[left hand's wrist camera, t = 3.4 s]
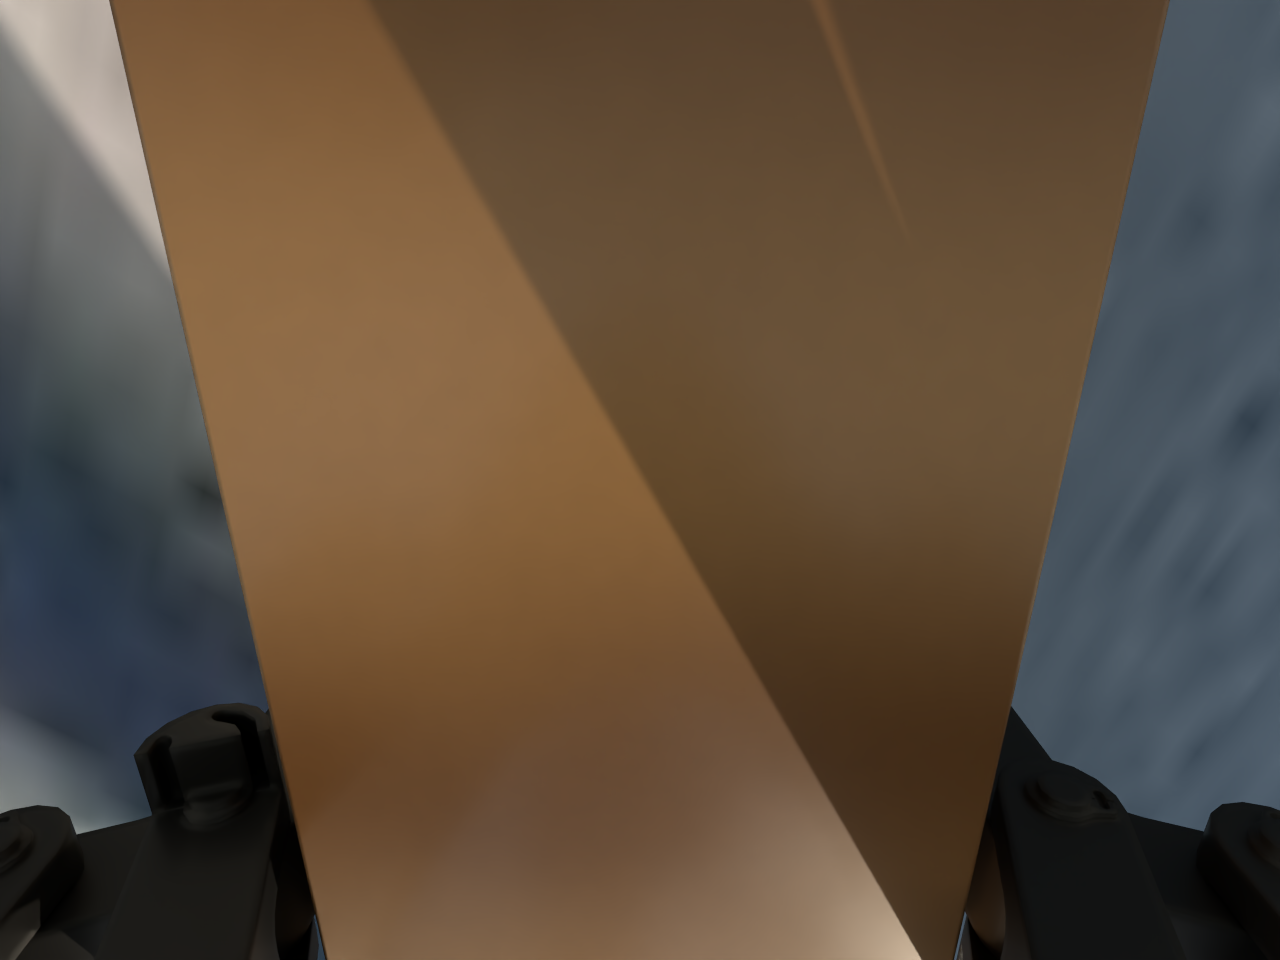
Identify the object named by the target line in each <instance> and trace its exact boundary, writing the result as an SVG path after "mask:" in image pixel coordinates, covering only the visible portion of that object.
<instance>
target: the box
mask: <svg viewBox="0 0 1280 960" xmlns="http://www.w3.org/2000/svg"><path fill="white" fill-rule="evenodd" d="M109 1H110V6H111V10H112V15H113V19H114V24H115V28H116V32H117V37H118V41H119V46H120V50H121V55H122V59H123V63H124V68H125V72H126V77H127V81H128V86H129V90H130V95H131V99H132V103H133V108H134V112H135V117H136V121H137V126H138V130H139V134H140V139H141V143H142V148H143V152H144V157H145V161H146V165H147V170H148V174H149V179H150V183H151V188H152V192H153V197H154V201H155V205H156V210H157V214H158V219H159V223H160V228H161V232H162V236H163V241H164V245H165V250H166V254H167V259H168V263H169V267H170V272H171V276H172V281H173V285H174V290H175V294H176V299H177V303H178V307H179V312H180V316H181V321H182V325H183V330H184V334H185V338H186V343H187V347H188V352H189V356H190V361H191V365H192V369H193V374H194V378H195V383H196V387H197V392H198V396H199V401H200V405H201V409H202V414H203V418H204V423H205V427H206V432H207V436H208V440H209V445H210V449H211V454H212V458H213V463H214V467H215V471H216V476H217V480H218V485H219V489H220V494H221V498H222V502H223V507H224V511H225V516H226V520H227V525H228V529H229V534H230V538H231V542H232V547H233V551H234V556H235V560H236V565H237V569H238V573H239V578H240V582H241V587H242V591H243V596H244V600H245V604H246V609H247V613H248V618H249V622H250V627H251V631H252V636H253V640H254V644H255V649H256V653H257V658H258V662H259V667H260V671H261V675H262V680H263V684H264V689H265V693H266V698H267V702H268V706H269V711H270V715H271V720H272V724H273V729H274V733H275V738H276V742H277V746H278V751H279V755H280V760H281V764H282V769H283V773H284V777H285V782H286V786H287V791H288V795H289V800H290V804H291V808H292V813H293V817H294V822H295V826H296V831H297V835H298V840H299V844H300V848H301V853H302V857H303V862H304V866H305V871H306V875H307V879H308V884H309V888H310V893H311V897H312V902H313V906H314V910H315V915H316V919H317V924H318V928H319V933H320V937H321V941H322V946H323V950H324V955H325V959H326V960H954V956H955V952H956V948H957V943H958V939H959V934H960V930H961V925H962V921H963V916H964V912H965V908H966V903H967V899H968V894H969V890H970V885H971V881H972V876H973V872H974V868H975V863H976V859H977V854H978V850H979V845H980V841H981V836H982V832H983V828H984V823H985V819H986V814H987V810H988V805H989V801H990V797H991V792H992V788H993V783H994V779H995V774H996V770H997V765H998V761H999V757H1000V752H1001V748H1002V743H1003V739H1004V734H1005V730H1006V725H1007V721H1008V717H1009V712H1010V708H1011V703H1012V699H1013V694H1014V690H1015V685H1016V681H1017V677H1018V672H1019V668H1020V663H1021V659H1022V654H1023V650H1024V645H1025V641H1026V637H1027V632H1028V628H1029V623H1030V619H1031V614H1032V610H1033V605H1034V601H1035V597H1036V592H1037V588H1038V583H1039V579H1040V574H1041V570H1042V566H1043V561H1044V557H1045V552H1046V548H1047V543H1048V539H1049V534H1050V530H1051V526H1052V521H1053V517H1054V512H1055V508H1056V503H1057V499H1058V494H1059V490H1060V486H1061V481H1062V477H1063V472H1064V468H1065V463H1066V459H1067V454H1068V450H1069V446H1070V441H1071V437H1072V432H1073V428H1074V423H1075V419H1076V414H1077V410H1078V406H1079V401H1080V397H1081V392H1082V388H1083V383H1084V379H1085V374H1086V370H1087V366H1088V361H1089V357H1090V352H1091V348H1092V343H1093V339H1094V335H1095V330H1096V326H1097V321H1098V317H1099V312H1100V308H1101V303H1102V299H1103V295H1104V290H1105V286H1106V281H1107V277H1108V272H1109V268H1110V263H1111V259H1112V255H1113V250H1114V246H1115V241H1116V237H1117V232H1118V228H1119V223H1120V219H1121V215H1122V210H1123V206H1124V201H1125V197H1126V192H1127V188H1128V183H1129V179H1130V175H1131V170H1132V166H1133V161H1134V157H1135V152H1136V148H1137V143H1138V139H1139V135H1140V130H1141V126H1142V121H1143V117H1144V112H1145V108H1146V104H1147V99H1148V95H1149V90H1150V86H1151V81H1152V77H1153V72H1154V68H1155V64H1156V59H1157V55H1158V50H1159V46H1160V41H1161V37H1162V32H1163V28H1164V24H1165V19H1166V15H1167V10H1168V6H1169V1H1170V0H109Z"/></svg>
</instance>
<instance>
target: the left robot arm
mask: <svg viewBox="0 0 1280 960" xmlns="http://www.w3.org/2000/svg"><path fill="white" fill-rule="evenodd" d="M134 758H135V761H136V764H137V767H138V770H139V773H140V777H141V780H142V783H143V786H144V789H145V792H146V796H147V799H148V802H149V805H150V808H151V811H152V816H149V817H146V818H143V819H140V820H136V821H132V822H128V823H123V824H119V825H115V826H111V827H107V828H102V829H98V830H94V831H90V832H85V833H81V834H77V835H76V832H75V830H74V827H73V824H72V821H71V819H70V816H69V815H67V814H66V813H65V812H63V811H62V810H61V809H60V808H58V807H50V806H41V805H36V806H31V807H25V808H19V809H14V810H10V811H7V812H4V813H2V814H0V960H317V957H318V947H319V944H318V937H317V930H316V925H315V920H314V915H315V910H314V906H313V902H312V897H311V893H310V888H309V884H308V879H307V875H306V871H305V866H304V862H303V857H302V853H301V848H300V844H299V840H298V835H297V831H296V826H295V822H294V817H293V813H292V808H291V804H290V800H289V795H288V791H287V786H286V782H285V777H284V773H283V769H282V764H281V760H280V755H279V751H278V746H277V742H276V738H275V733H274V729H273V724H272V720H271V715H270V711H269V709H268V710H267V712H266V713H264V712H263V711H262V710H261V709H259V708H258V707H256V706H251V705H247V704H242V703H232V704H219V705H214V706H210V707H206V708H203V709H199V710H196V711H192V712H190V713H188V714H185V715H183V716H181V717H179V718H177V719H175V720H173V721H171V722H169V723H167V724H165V725H164V726H163V727H161V728H160V729H159V730H157V731H156V732H155V733H153V734H152V735H150V736H149V737H148V738H146V740H145V741H144V742H143V744H142V745H141V746H140V748H139V749H138V750H137V751H136V753H135V754H134ZM965 912H966V914H967V916H966V920H965V925H964V929H963V934H962V938H961V942H960V947H959V951H958V956H957V960H1280V810H1277V809H1274V808H1271V807H1268V806H1262V805H1256V804H1251V803H1245V802H1239V803H1229V804H1222V805H1221V806H1219V807H1218V808H1217V809H1216V810H1214V811H1213V812H1212V813H1211V814H1210V817H1209V820H1208V822H1207V825H1206V828H1205V830H1204V832H1203V831H1199V830H1195V829H1191V828H1186V827H1182V826H1178V825H1174V824H1169V823H1165V822H1161V821H1157V820H1152V819H1148V818H1144V817H1140V816H1137V815H1134V814H1130V813H1127V811H1126V810H1125V808H1124V807H1123V805H1122V804H1121V802H1120V801H1119V799H1118V798H1117V796H1116V795H1115V794H1113V793H1112V792H1111V791H1110V790H1109V789H1108V788H1106V787H1105V786H1104V785H1103V784H1102V783H1100V782H1099V781H1098V780H1097V779H1095V778H1093V777H1091V776H1089V775H1088V774H1086V773H1084V772H1082V771H1080V770H1078V769H1076V768H1075V767H1072V766H1069V765H1066V764H1062V763H1059V762H1056V761H1053V760H1051V758H1050V757H1049V756H1048V754H1047V753H1046V752H1045V750H1044V749H1043V748H1042V746H1041V745H1040V744H1039V742H1038V741H1037V740H1036V738H1035V737H1034V736H1033V734H1032V733H1031V732H1030V730H1029V729H1028V728H1027V726H1026V725H1025V724H1024V722H1023V721H1022V720H1021V718H1020V717H1019V716H1018V715H1017V713H1016V712H1015V711H1014V709H1013V708H1012V707H1011V708H1010V712H1009V717H1008V721H1007V725H1006V730H1005V734H1004V739H1003V743H1002V748H1001V752H1000V757H999V761H998V765H997V770H996V774H995V779H994V783H993V788H992V792H991V797H990V801H989V805H988V810H987V814H986V819H985V823H984V828H983V832H982V836H981V841H980V845H979V850H978V854H977V859H976V863H975V868H974V872H973V876H972V881H971V885H970V890H969V894H968V899H967V903H966V908H965Z"/></svg>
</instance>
